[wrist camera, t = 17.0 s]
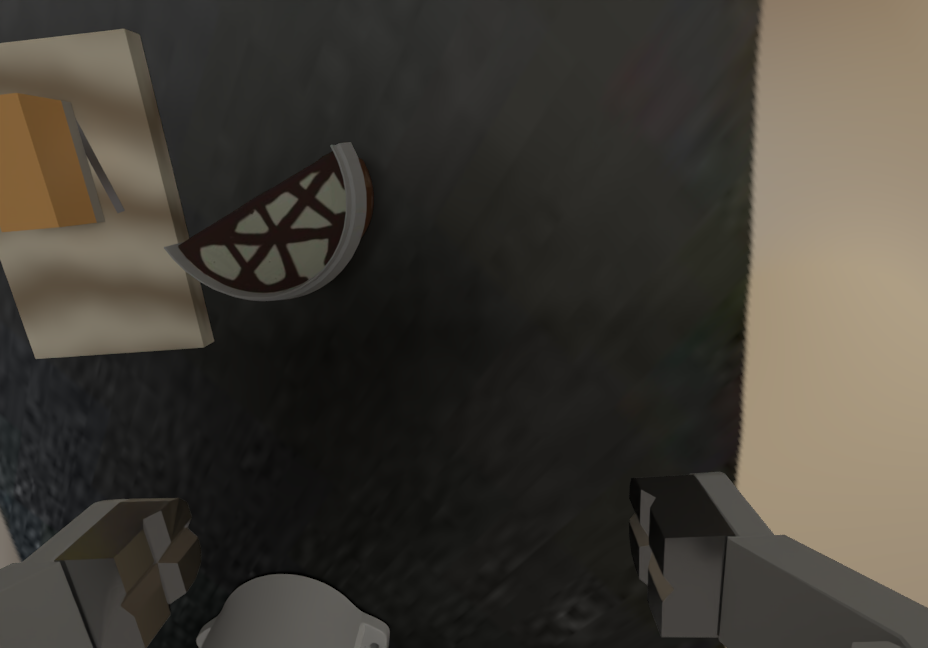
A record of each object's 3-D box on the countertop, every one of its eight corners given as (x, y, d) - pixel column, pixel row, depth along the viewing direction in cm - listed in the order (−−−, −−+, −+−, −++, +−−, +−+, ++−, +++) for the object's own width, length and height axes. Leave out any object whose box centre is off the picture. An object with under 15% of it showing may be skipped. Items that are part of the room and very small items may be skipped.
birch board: (214, 341, 40) (203, 347, 38) (51, 352, 41) (35, 359, 39) (139, 35, 33) (123, 28, 32) (-51, 57, 34) (-75, 51, 33)
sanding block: (105, 221, 36) (59, 227, 32) (53, 226, 36) (1, 232, 32) (70, 102, 34) (16, 92, 30) (16, 108, 34) (-45, 99, 30)
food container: (287, 302, 39) (220, 344, 29) (241, 232, 37) (155, 252, 28) (423, 227, 36) (400, 245, 27) (380, 149, 35) (340, 139, 25)
